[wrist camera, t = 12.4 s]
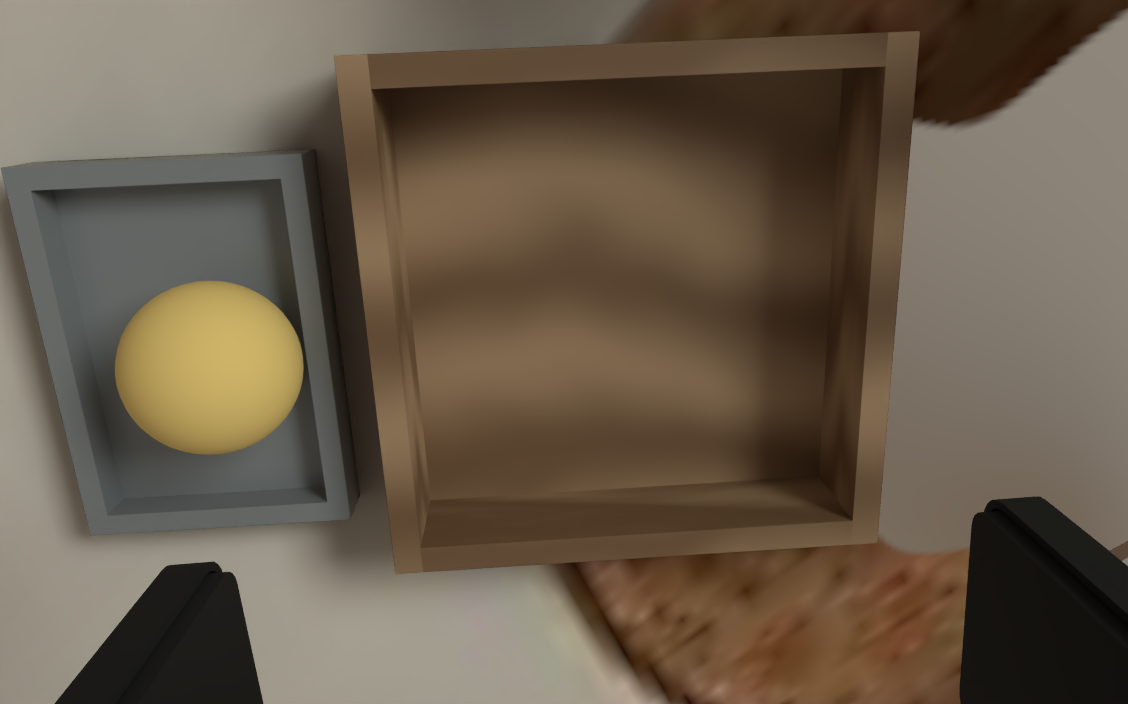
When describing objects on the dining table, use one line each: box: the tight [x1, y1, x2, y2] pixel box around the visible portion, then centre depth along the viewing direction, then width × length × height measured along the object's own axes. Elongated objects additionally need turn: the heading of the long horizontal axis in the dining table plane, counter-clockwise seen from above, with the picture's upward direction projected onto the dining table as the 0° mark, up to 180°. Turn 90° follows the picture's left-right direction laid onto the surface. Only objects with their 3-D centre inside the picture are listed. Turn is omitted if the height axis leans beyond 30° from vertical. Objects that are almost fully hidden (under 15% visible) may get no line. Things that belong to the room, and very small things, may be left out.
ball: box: [115, 281, 304, 455], centre depth 29 cm, size 6×6×6 cm
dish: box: [1, 149, 360, 535], centre depth 32 cm, size 14×10×2 cm
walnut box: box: [334, 31, 920, 574], centre depth 31 cm, size 18×18×4 cm
